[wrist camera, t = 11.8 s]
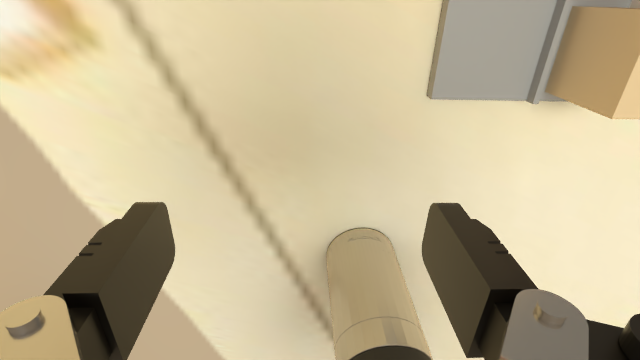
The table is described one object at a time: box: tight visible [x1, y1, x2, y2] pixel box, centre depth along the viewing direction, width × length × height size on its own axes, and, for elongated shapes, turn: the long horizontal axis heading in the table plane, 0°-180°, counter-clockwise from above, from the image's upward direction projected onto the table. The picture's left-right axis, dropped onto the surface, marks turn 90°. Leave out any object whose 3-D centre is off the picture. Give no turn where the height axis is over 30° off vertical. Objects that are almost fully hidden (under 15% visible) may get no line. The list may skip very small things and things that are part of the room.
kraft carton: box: [545, 6, 640, 119], centre depth 31 cm, size 5×8×9 cm, turn 179°
